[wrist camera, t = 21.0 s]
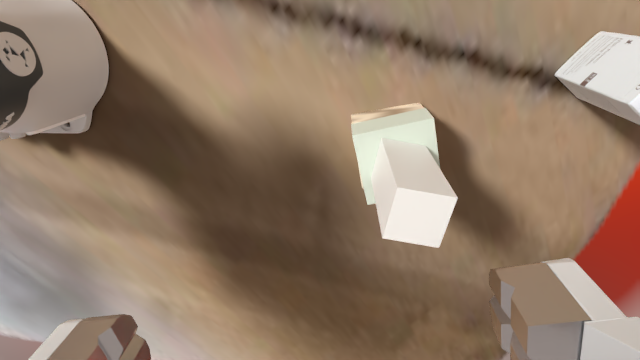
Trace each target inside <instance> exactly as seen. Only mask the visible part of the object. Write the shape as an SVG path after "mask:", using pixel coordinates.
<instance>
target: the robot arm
mask: <svg viewBox="0 0 640 360" xmlns="http://www.w3.org/2000/svg"><path fill="white" fill-rule="evenodd" d="M108 75H109V64H108V57H107V53H106V49H105V46H104V43H103V41H102V38H101V36H100V34H99V32H98V30H97V29H96V27H95V26H94V24H93V23H92V21H91V20H90V18H89V17H88V16H87V15H86V14H85V12H84V11H83V10H82V9H81V8H80V7H79V6H78V5H77V4H75V3H74V2H73V1H72V0H0V140H4V139H7V138H9V135H10V137H11V138H12V139H17V138H22V137H25V136H26V134H27V135H33V134H37V133H82V132H85V131H87V130H88V129H89V127H90V124H91V119H92V111H93V109H94V107H95V105H96V104H97V103H98V101H99V100H100V99H101V97H102V95H103V93H104V91H105V89H106V86H107V82H108ZM68 122H69V123H70V125H69V124H68ZM25 133H26V134H25ZM489 285H490V287H491V289H492V291H493V293H494V296H493V297H492V299H491V300H490V301H489V302H490V315H491V320H492V325H493V329H494V331H495V334H496V337H497V339H498V342H499V344H500V346H501V348H502V349H504V350H505V351H507V352H508V353H510V360H640V318H638V317H628V318H627V316H625V314H624V313H623V312H622V311H621V310H620V309H619V308H618V307H617V306H616V305H615V304H614V303H613V302H612V301H611V300H610V298H609V297H608V296H607V295H606V294H605V293H604V292H603V291H602V290H601V289H600V288H599V287H598V286H597V285H596V283H595V282H594V281H593V280H592V279H591V278H590V277H589V276H588V275H587V274H586V273H585V272H584V271H583V270H582V269H581V268H580V266H579V265H578V264H577V263H576V262H575V261H574V260H572V259H570V258H564V259H557V260H550V261H544V262H541V263H533V264H525V265H517V266H510V267H502V268H494V269H490V273H489ZM137 327H138V326H137V324H136V322H135V321H134V319H133V317H132V316H130V315H125V314H122V315H111V316H101V317H91V318H86V319H75V320H68V321H66V322H64V323H61V324H60V325H59V326H58V327H57V328H56V329H55V330H54V331H53V333H52V334H51V335H50V336H49V337H48V338H47V339H46V340H45V341H44V343H43V344H42V345H41V346H40V347H39V348H38V349H37V350H36V351H35V353H34V354H33V355H32V356H31V357H30V358H29V359H28V360H151V355H150V349H149V346H148V344H147V342H146V340H145V339H143V338H141V337H140V336H138V335H137V334H136V331H137Z"/></svg>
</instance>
